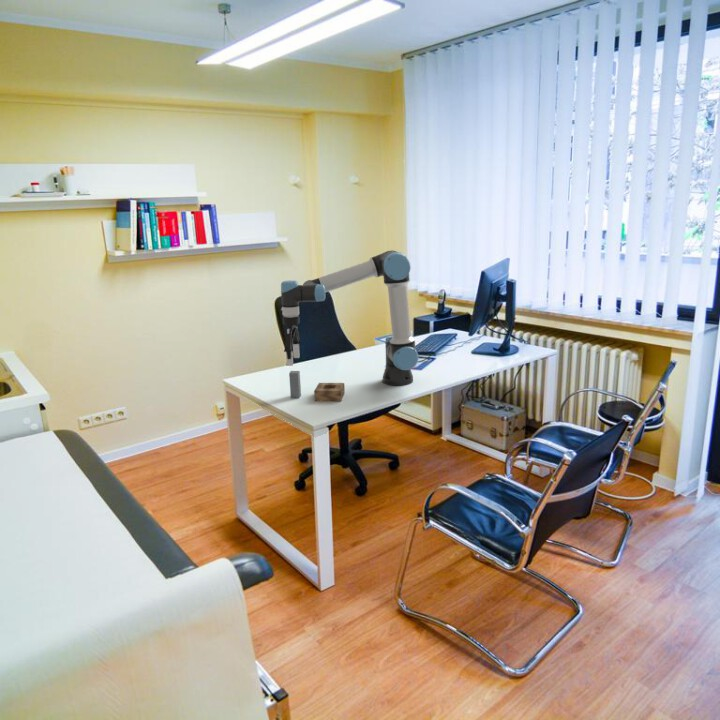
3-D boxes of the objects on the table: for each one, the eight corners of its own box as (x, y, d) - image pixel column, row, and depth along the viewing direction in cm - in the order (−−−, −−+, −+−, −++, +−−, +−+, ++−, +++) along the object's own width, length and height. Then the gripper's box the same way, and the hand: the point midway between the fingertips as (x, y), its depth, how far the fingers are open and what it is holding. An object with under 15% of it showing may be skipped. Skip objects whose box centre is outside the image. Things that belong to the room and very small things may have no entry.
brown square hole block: (344, 393, 275) (344, 382, 273) (341, 401, 263) (340, 390, 262) (319, 392, 276) (318, 382, 275) (314, 401, 265) (314, 390, 263)
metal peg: (301, 395, 273) (299, 370, 270) (299, 398, 269) (297, 373, 266) (292, 395, 274) (291, 370, 270) (290, 398, 270) (289, 373, 267)
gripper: (289, 310, 274) (291, 354, 279) (275, 321, 250) (278, 368, 255) (304, 310, 273) (306, 354, 279) (293, 321, 249) (295, 369, 255)
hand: (293, 361), depth 267 cm, fingers open, 13 cm apart
